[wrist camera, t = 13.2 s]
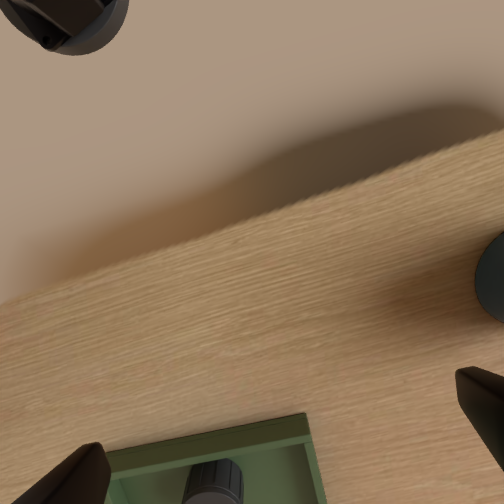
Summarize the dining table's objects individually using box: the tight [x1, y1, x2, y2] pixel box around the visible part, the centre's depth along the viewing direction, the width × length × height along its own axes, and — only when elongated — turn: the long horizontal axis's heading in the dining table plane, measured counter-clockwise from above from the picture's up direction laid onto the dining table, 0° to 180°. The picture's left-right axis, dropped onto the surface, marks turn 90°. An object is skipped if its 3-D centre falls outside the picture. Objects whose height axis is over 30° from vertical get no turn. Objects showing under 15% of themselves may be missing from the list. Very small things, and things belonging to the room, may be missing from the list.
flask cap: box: [182, 458, 244, 504], centre depth 22 cm, size 4×4×3 cm
